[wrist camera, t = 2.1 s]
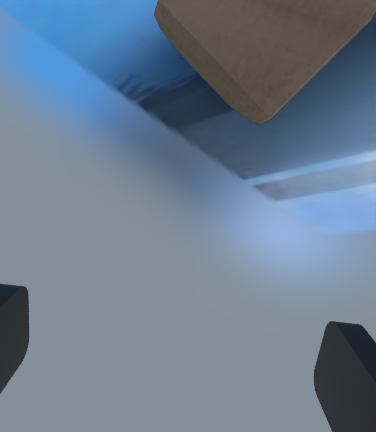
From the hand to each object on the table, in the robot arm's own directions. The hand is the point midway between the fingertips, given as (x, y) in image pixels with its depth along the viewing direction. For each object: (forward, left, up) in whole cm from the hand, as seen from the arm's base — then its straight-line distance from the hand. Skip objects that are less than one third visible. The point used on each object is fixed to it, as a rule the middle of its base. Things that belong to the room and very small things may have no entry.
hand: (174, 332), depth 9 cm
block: (-7, -9, -36) cm, 37 cm away
